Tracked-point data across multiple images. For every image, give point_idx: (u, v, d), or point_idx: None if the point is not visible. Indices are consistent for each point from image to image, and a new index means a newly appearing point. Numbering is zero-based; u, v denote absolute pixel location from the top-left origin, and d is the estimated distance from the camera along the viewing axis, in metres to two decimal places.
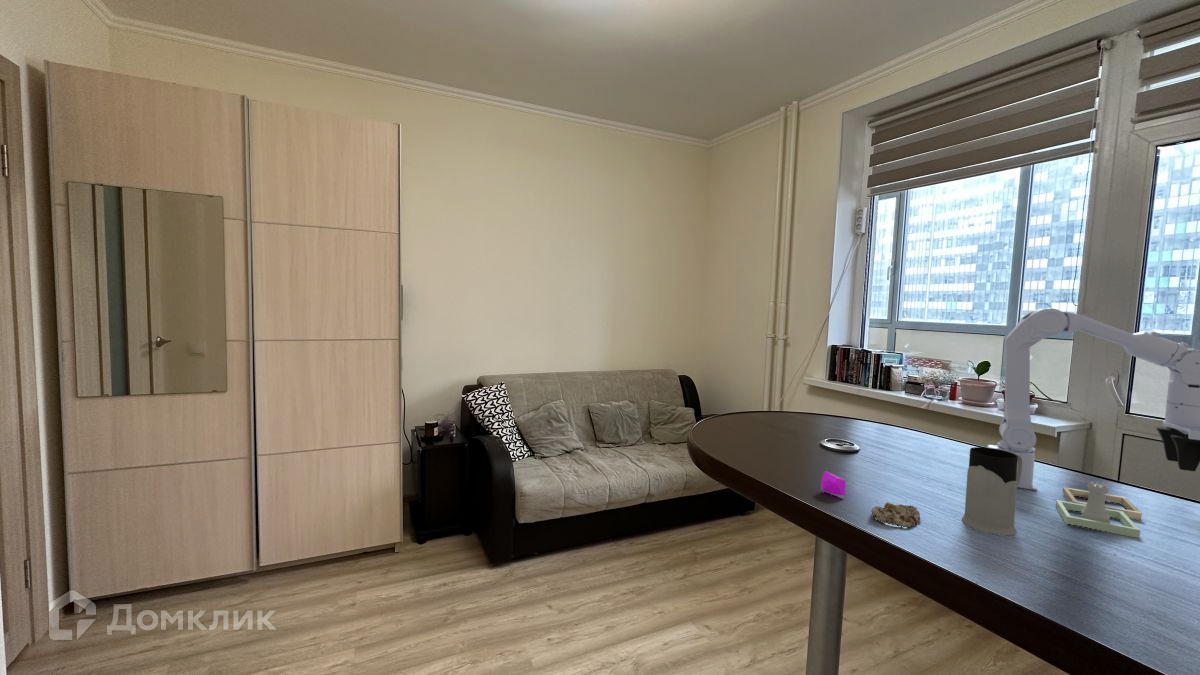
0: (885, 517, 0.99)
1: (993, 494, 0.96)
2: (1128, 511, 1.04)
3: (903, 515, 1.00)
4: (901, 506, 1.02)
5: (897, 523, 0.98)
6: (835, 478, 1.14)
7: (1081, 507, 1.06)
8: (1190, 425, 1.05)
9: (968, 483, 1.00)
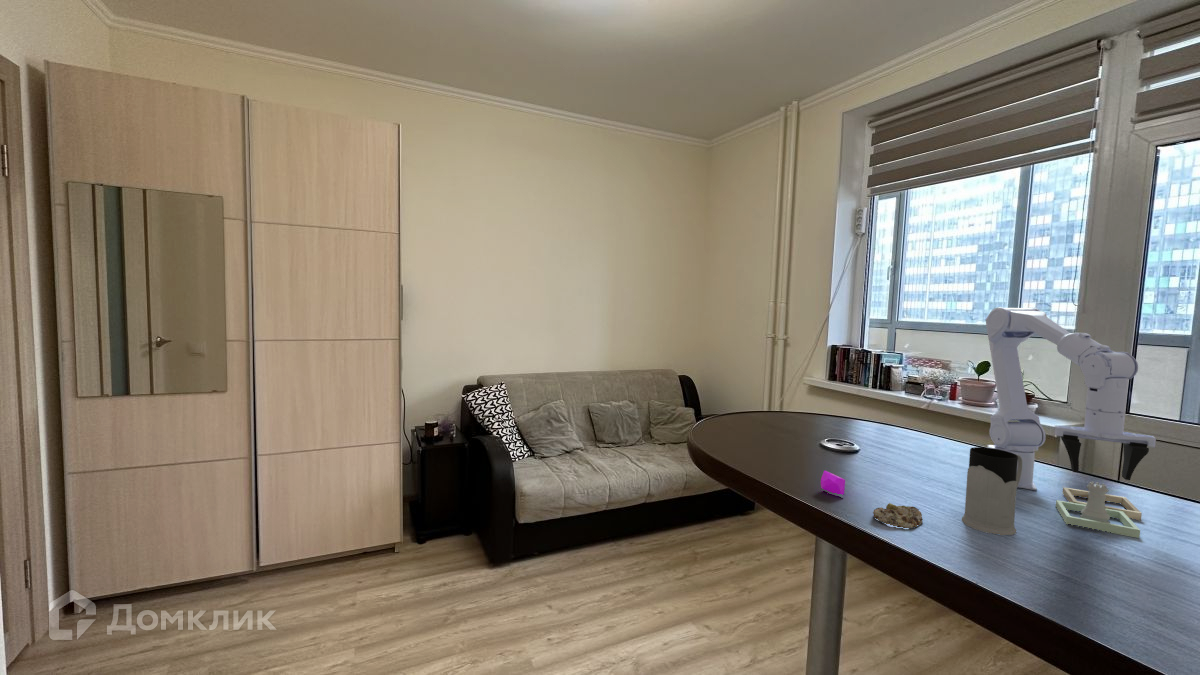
0: (887, 518, 0.99)
1: (993, 494, 0.96)
2: (1128, 511, 1.04)
3: (905, 516, 0.99)
4: (903, 507, 1.01)
5: (899, 524, 0.98)
6: (835, 477, 1.14)
7: (1081, 507, 1.06)
8: (1084, 428, 1.03)
9: (968, 483, 1.00)
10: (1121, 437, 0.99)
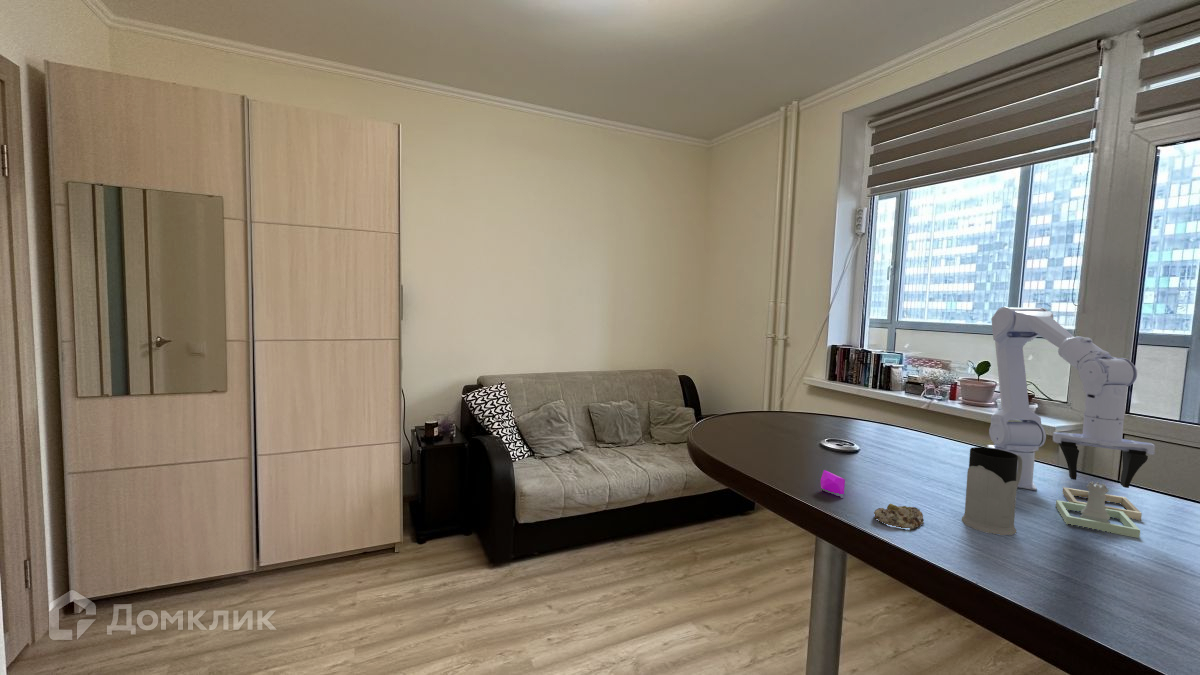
0: (887, 518, 0.99)
1: (993, 494, 0.96)
2: (1128, 511, 1.04)
3: (906, 517, 0.99)
4: (904, 507, 1.01)
5: (900, 525, 0.97)
6: (834, 477, 1.14)
7: (1081, 507, 1.06)
8: (1082, 435, 1.02)
9: (968, 483, 1.00)
10: (1119, 444, 0.98)
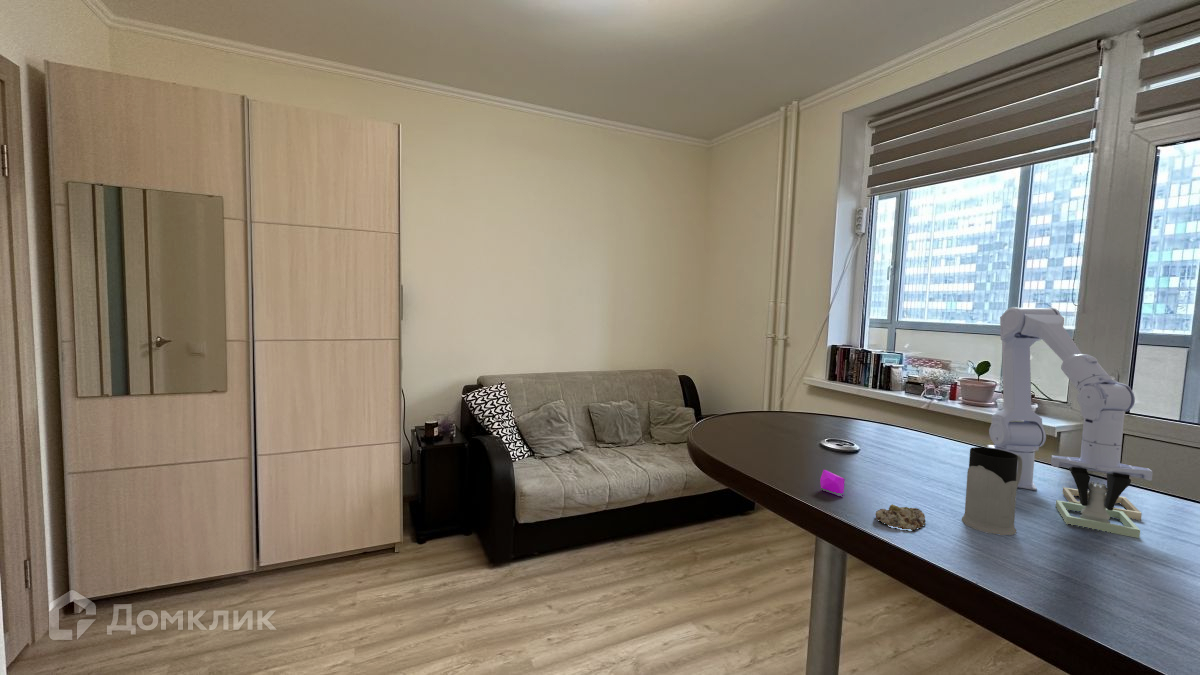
0: (889, 519, 0.98)
1: (993, 494, 0.96)
2: (1128, 511, 1.04)
3: (908, 517, 0.99)
4: (906, 508, 1.00)
5: (901, 526, 0.97)
6: (834, 476, 1.15)
7: (1081, 507, 1.06)
8: (1080, 459, 1.03)
9: (968, 483, 1.00)
10: (1117, 470, 0.98)
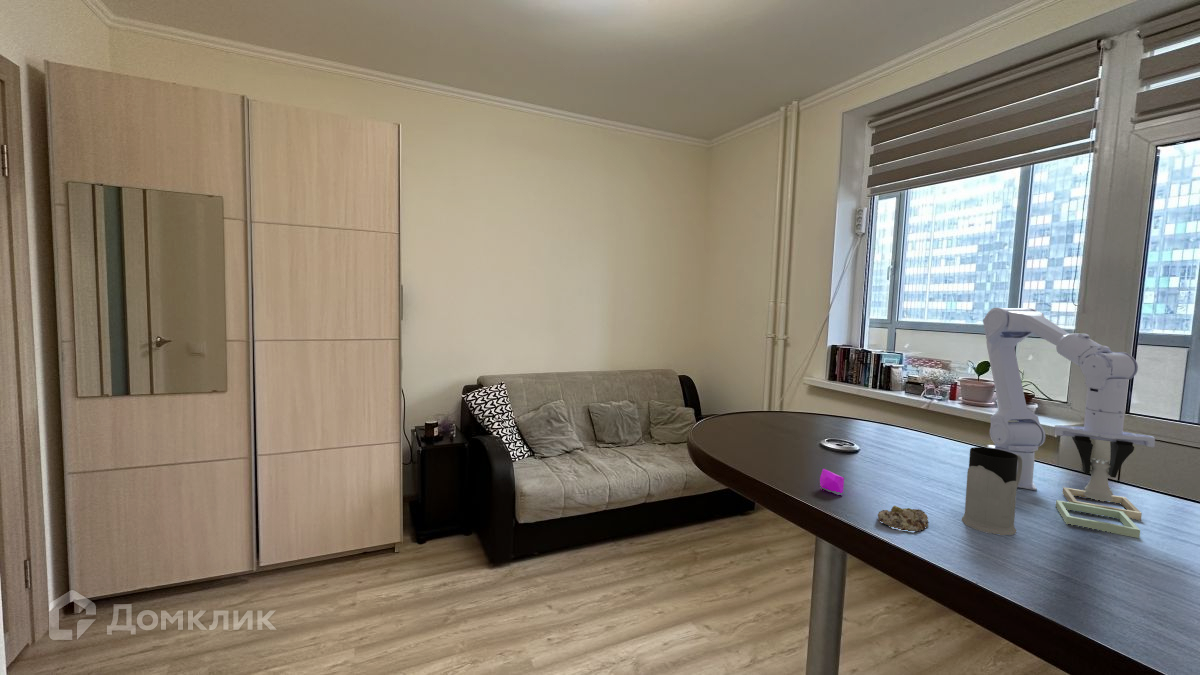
0: (891, 520, 0.98)
1: (993, 494, 0.96)
2: (1128, 511, 1.04)
3: (910, 519, 0.98)
4: (908, 510, 1.00)
5: (904, 527, 0.96)
6: (834, 476, 1.15)
7: (1081, 507, 1.06)
8: (1084, 427, 1.04)
9: (968, 483, 1.00)
10: (1120, 437, 0.99)
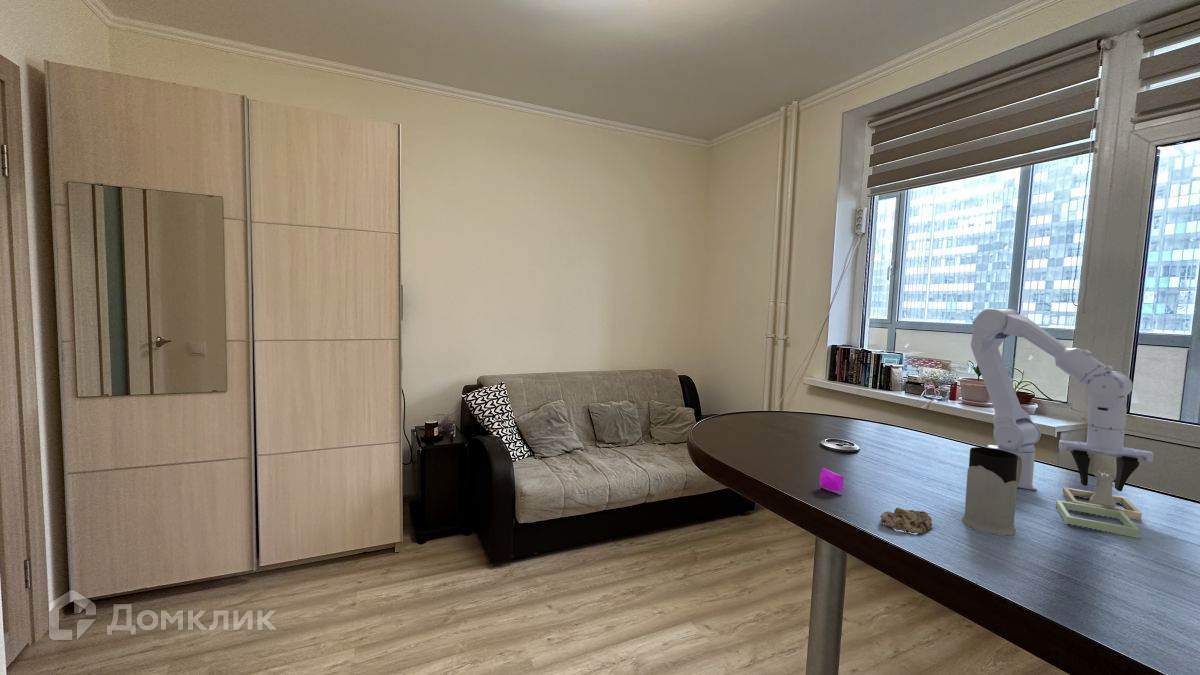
0: (894, 522, 0.97)
1: (993, 494, 0.96)
2: (1128, 511, 1.04)
3: (914, 521, 0.97)
4: (912, 511, 0.99)
5: (907, 529, 0.96)
6: (833, 475, 1.16)
7: (1081, 507, 1.06)
8: (1086, 443, 1.10)
9: (968, 483, 1.00)
10: (1121, 452, 1.06)
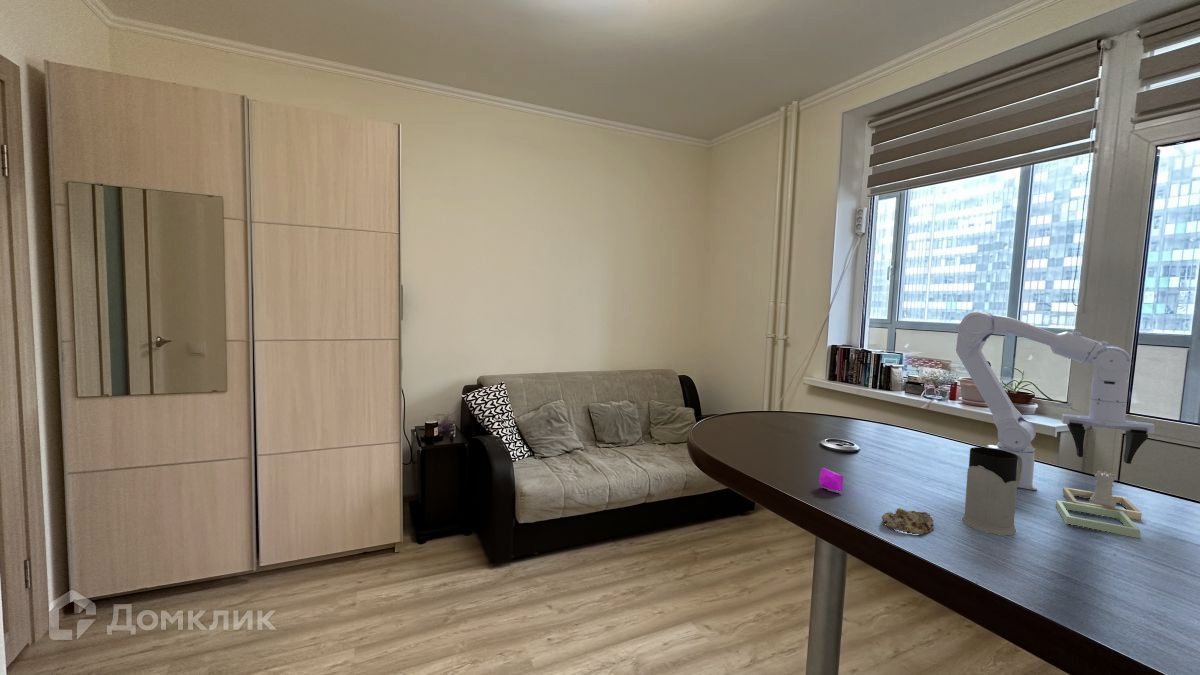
0: (896, 523, 0.96)
1: (993, 494, 0.96)
2: (1128, 511, 1.04)
3: (915, 522, 0.97)
4: (913, 512, 0.99)
5: (908, 530, 0.95)
6: (833, 474, 1.16)
7: (1081, 507, 1.06)
8: (1089, 416, 1.13)
9: (968, 483, 1.00)
10: (1122, 424, 1.08)
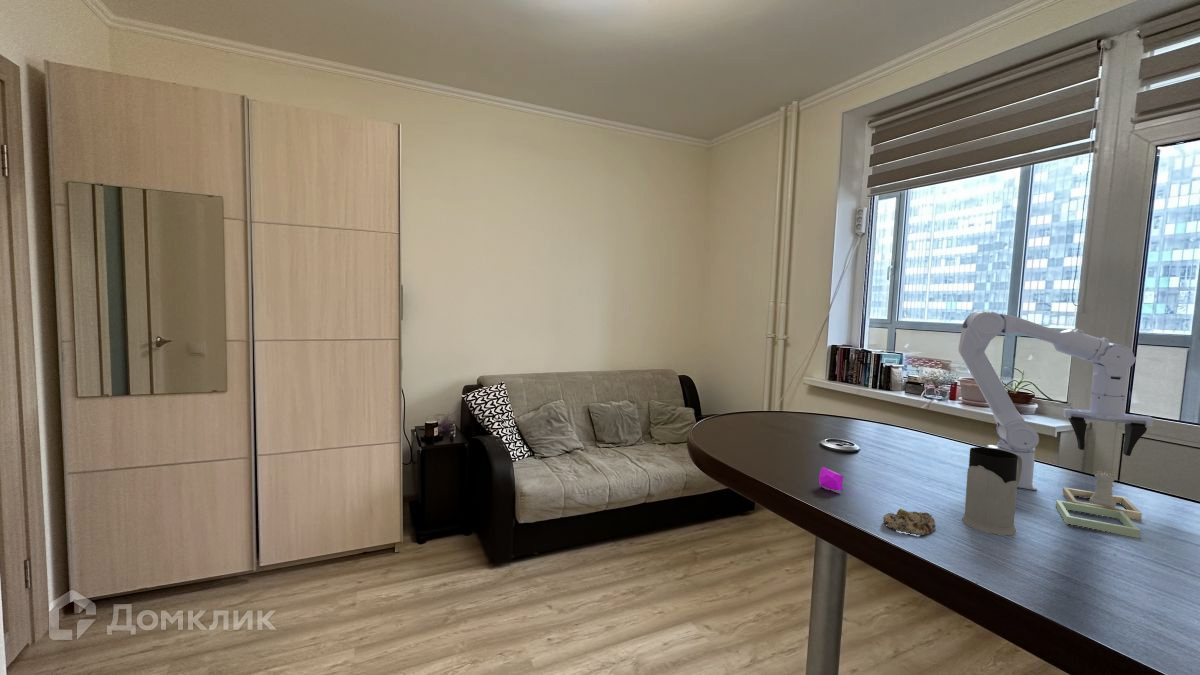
0: (897, 524, 0.96)
1: (993, 494, 0.96)
2: (1128, 511, 1.04)
3: (916, 522, 0.97)
4: (915, 513, 0.98)
5: (910, 531, 0.95)
6: (833, 474, 1.17)
7: (1081, 507, 1.06)
8: (1090, 410, 1.17)
9: (968, 483, 1.00)
10: (1122, 418, 1.12)
